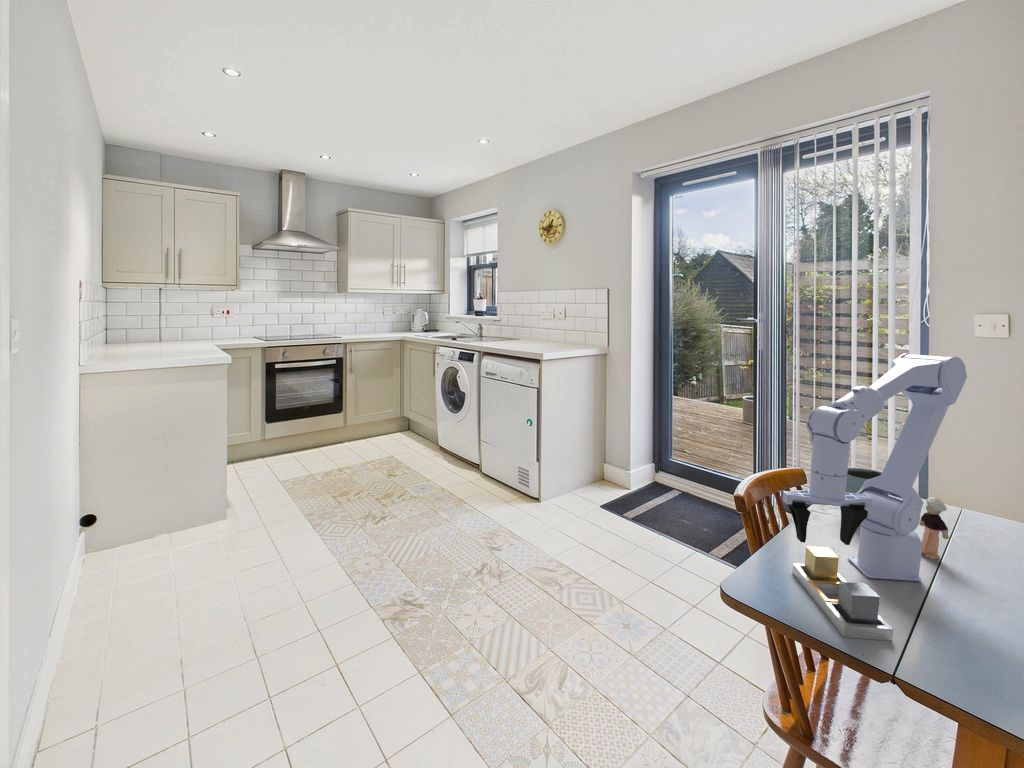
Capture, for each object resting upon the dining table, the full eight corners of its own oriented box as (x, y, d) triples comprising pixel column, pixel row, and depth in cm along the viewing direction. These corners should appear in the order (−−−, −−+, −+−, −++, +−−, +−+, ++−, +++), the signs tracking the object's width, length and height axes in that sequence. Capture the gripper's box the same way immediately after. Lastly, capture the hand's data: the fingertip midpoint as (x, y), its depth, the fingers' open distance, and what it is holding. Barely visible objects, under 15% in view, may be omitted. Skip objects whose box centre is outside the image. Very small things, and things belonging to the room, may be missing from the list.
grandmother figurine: (905, 547, 109) (911, 492, 107) (921, 546, 109) (927, 491, 107) (937, 564, 101) (944, 505, 99) (955, 564, 101) (962, 504, 100)
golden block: (825, 579, 96) (828, 547, 95) (835, 590, 92) (838, 557, 91) (803, 577, 97) (806, 546, 96) (812, 588, 93) (815, 556, 92)
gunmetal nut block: (862, 619, 83) (865, 583, 82) (876, 634, 79) (879, 596, 78) (836, 617, 84) (839, 581, 83) (848, 632, 80) (852, 594, 79)
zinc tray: (830, 575, 97) (831, 564, 97) (891, 641, 78) (893, 628, 77) (792, 572, 98) (793, 562, 98) (843, 637, 79) (844, 624, 78)
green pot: (832, 519, 123) (836, 473, 122) (844, 508, 130) (848, 464, 129) (882, 532, 116) (887, 483, 114) (891, 520, 123) (896, 473, 121)
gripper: (795, 477, 88) (790, 548, 90) (884, 480, 86) (877, 553, 88) (780, 465, 95) (775, 532, 97) (862, 468, 93) (856, 536, 95)
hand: (822, 541), depth 93 cm, fingers open, 7 cm apart
